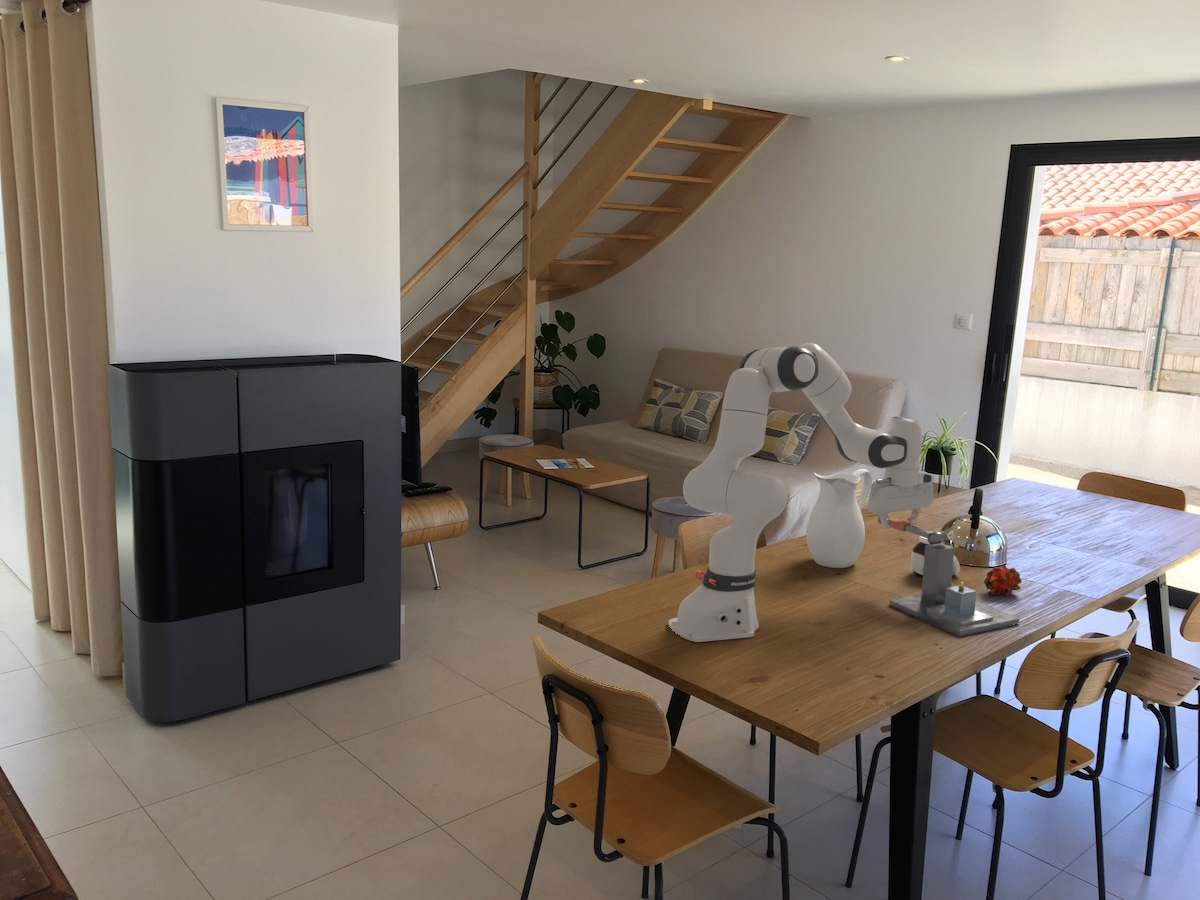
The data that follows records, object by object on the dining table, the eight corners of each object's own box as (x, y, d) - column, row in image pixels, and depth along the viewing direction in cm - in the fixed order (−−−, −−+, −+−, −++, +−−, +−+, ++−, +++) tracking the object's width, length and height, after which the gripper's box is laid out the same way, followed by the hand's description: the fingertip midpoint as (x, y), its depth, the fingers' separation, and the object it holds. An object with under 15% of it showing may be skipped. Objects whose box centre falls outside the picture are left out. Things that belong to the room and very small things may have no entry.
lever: (935, 546, 244) (936, 534, 244) (873, 524, 265) (874, 513, 264) (947, 544, 246) (948, 532, 245) (884, 522, 266) (885, 511, 266)
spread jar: (906, 574, 275) (909, 535, 273) (924, 566, 283) (927, 528, 281) (946, 584, 267) (949, 544, 265) (963, 575, 275) (967, 536, 273)
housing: (959, 617, 235) (962, 587, 234) (944, 610, 240) (946, 581, 238) (974, 614, 237) (977, 584, 236) (959, 607, 242) (961, 578, 240)
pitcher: (837, 575, 274) (842, 481, 269) (793, 560, 287) (797, 470, 282) (889, 560, 288) (895, 471, 283) (845, 547, 301) (850, 461, 296)
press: (959, 637, 229) (965, 571, 225) (889, 605, 250) (893, 544, 247) (1018, 624, 237) (1024, 560, 234) (946, 594, 258) (950, 536, 255)
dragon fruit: (1019, 596, 262) (988, 609, 257) (999, 572, 267) (968, 584, 262) (1035, 579, 256) (1003, 591, 251) (1013, 554, 260) (982, 566, 255)
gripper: (880, 482, 249) (877, 533, 251) (938, 475, 258) (934, 524, 260) (864, 477, 254) (860, 527, 257) (921, 471, 263) (918, 519, 266)
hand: (898, 526), depth 259 cm, fingers open, 8 cm apart
